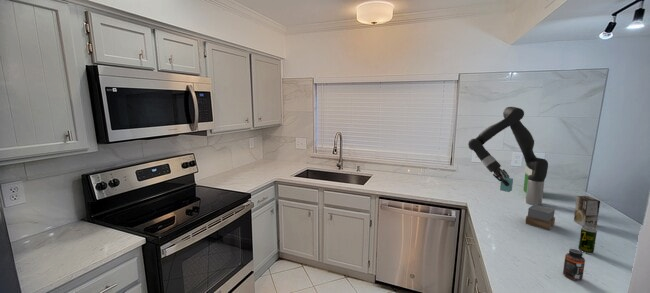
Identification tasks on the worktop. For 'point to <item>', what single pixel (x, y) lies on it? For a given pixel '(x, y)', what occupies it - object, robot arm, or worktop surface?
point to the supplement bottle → (574, 265)
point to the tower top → (541, 213)
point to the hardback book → (527, 173)
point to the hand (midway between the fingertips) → (509, 184)
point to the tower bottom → (540, 223)
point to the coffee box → (586, 211)
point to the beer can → (587, 239)
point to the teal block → (507, 188)
